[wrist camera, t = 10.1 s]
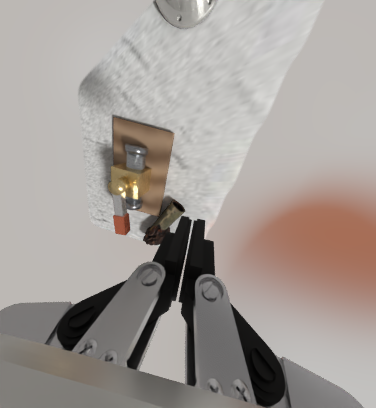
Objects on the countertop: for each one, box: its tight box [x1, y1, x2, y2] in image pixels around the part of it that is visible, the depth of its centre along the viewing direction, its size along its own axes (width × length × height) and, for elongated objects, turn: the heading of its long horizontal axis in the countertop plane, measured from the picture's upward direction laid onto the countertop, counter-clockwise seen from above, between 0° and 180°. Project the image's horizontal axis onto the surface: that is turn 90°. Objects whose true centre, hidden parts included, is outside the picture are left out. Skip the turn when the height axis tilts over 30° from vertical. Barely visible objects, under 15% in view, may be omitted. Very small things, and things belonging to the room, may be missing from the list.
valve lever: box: [108, 177, 130, 235], centre depth 32 cm, size 14×3×3 cm, turn 174°
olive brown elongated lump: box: [143, 200, 185, 245], centre depth 43 cm, size 18×7×6 cm, turn 140°
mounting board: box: [114, 117, 175, 217], centre depth 38 cm, size 24×15×2 cm, turn 166°
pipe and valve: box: [111, 143, 152, 210], centre depth 35 cm, size 16×7×7 cm, turn 166°
